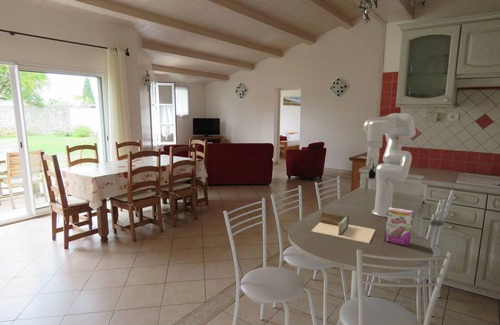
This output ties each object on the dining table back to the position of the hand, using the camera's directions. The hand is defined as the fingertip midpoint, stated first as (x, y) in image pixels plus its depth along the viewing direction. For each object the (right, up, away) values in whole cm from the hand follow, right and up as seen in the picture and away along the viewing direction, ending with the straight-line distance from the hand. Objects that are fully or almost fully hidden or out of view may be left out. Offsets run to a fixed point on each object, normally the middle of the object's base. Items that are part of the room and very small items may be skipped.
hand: (371, 178), depth 167 cm
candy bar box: (+6, -31, -17) cm, 35 cm away
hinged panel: (-17, -27, -5) cm, 32 cm away
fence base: (-19, -26, +5) cm, 33 cm away
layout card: (-16, -28, -3) cm, 32 cm away
